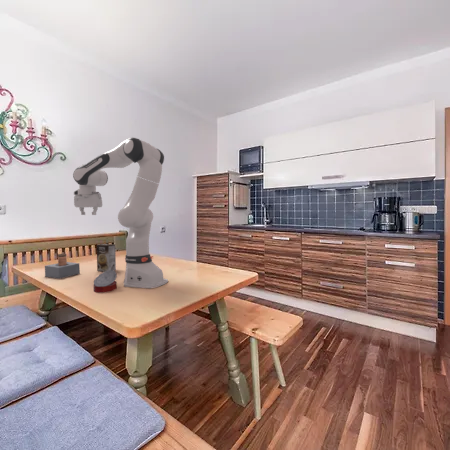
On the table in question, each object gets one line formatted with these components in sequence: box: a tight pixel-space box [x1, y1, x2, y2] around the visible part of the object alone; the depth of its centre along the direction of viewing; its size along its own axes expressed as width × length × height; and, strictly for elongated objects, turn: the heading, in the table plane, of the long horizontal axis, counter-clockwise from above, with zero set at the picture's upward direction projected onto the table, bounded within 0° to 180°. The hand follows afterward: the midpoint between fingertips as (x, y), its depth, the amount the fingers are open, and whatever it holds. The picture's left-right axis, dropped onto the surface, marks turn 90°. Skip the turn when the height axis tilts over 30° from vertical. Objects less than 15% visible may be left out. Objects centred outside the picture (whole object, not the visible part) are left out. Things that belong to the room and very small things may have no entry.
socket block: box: [44, 261, 81, 280], centre depth 144 cm, size 12×12×6 cm
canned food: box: [93, 270, 118, 294], centre depth 118 cm, size 11×10×10 cm
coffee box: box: [96, 243, 117, 272], centre depth 155 cm, size 9×6×16 cm
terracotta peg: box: [57, 253, 68, 266], centre depth 144 cm, size 4×4×12 cm
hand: (88, 214), depth 153 cm, fingers open, 8 cm apart
